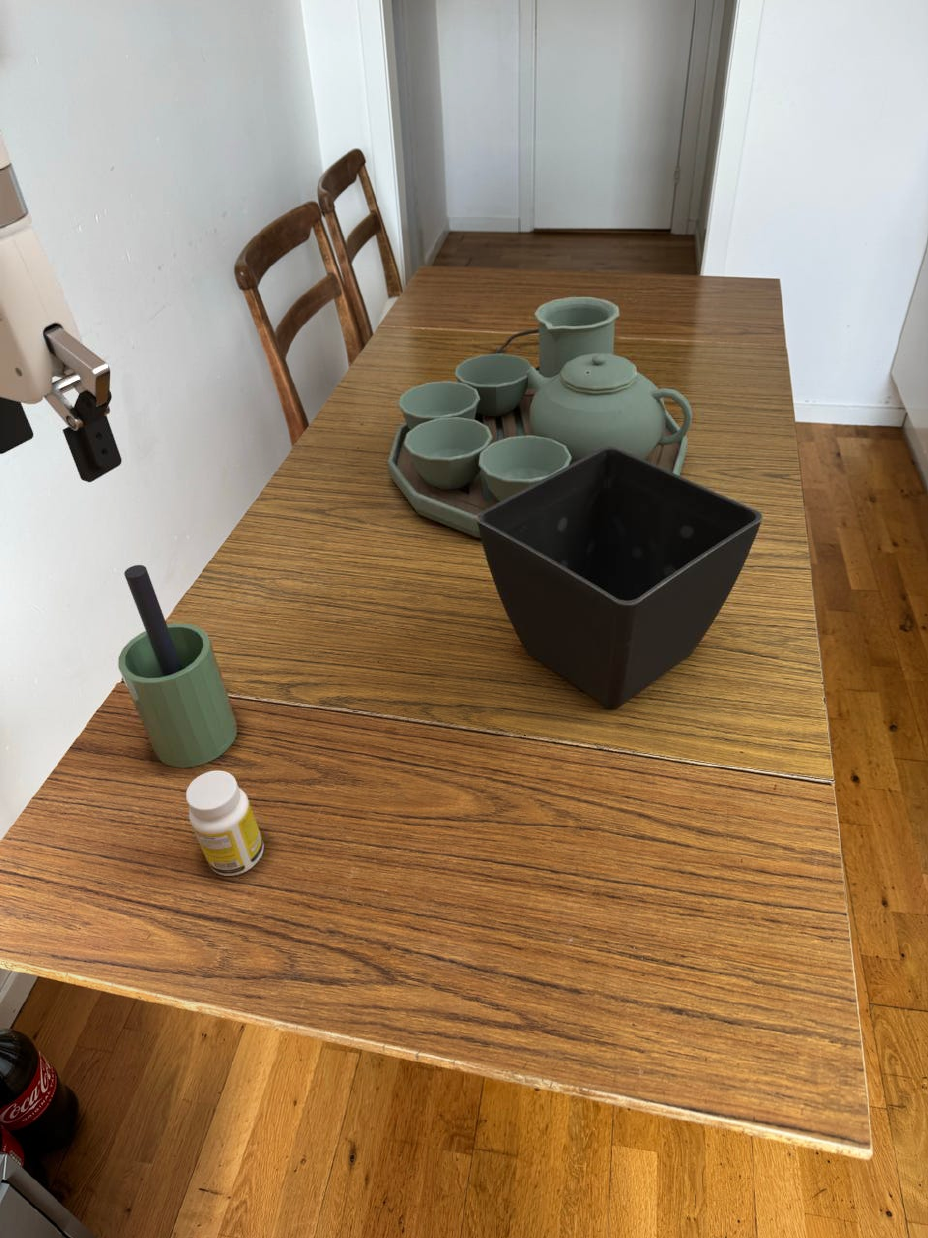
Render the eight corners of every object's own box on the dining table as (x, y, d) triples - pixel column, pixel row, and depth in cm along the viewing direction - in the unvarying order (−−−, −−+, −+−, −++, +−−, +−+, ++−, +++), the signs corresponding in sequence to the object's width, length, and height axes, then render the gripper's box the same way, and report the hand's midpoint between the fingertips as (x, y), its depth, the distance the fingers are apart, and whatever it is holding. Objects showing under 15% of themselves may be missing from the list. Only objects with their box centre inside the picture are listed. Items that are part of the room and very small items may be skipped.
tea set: (393, 411, 138) (380, 305, 127) (652, 390, 137) (660, 282, 127) (387, 560, 107) (368, 436, 97) (720, 534, 106) (737, 407, 96)
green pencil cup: (227, 766, 83) (196, 680, 76) (143, 769, 83) (105, 684, 76) (245, 705, 89) (218, 621, 82) (167, 708, 90) (134, 624, 83)
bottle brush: (209, 744, 84) (151, 584, 72) (168, 746, 84) (103, 586, 72) (219, 714, 87) (165, 555, 75) (179, 715, 88) (119, 558, 76)
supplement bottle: (247, 821, 78) (224, 756, 72) (274, 855, 75) (253, 789, 70) (197, 852, 76) (170, 788, 70) (223, 888, 73) (197, 823, 67)
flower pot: (744, 651, 90) (769, 510, 80) (620, 749, 81) (629, 605, 71) (603, 574, 102) (608, 442, 91) (481, 652, 93) (470, 516, 82)
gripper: (-180, 211, 55) (-60, 457, 66) (-7, 236, 48) (96, 511, 58) (-70, 181, 60) (25, 415, 71) (102, 200, 52) (180, 459, 63)
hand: (57, 458), depth 64 cm, fingers open, 9 cm apart
